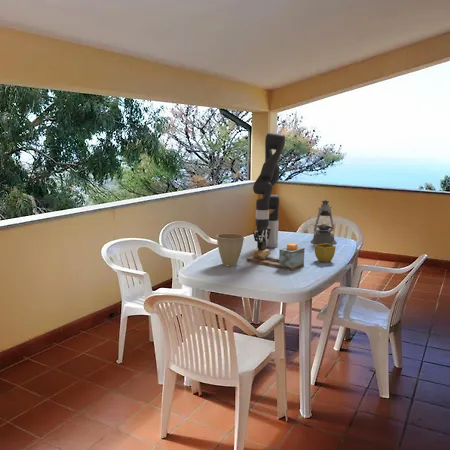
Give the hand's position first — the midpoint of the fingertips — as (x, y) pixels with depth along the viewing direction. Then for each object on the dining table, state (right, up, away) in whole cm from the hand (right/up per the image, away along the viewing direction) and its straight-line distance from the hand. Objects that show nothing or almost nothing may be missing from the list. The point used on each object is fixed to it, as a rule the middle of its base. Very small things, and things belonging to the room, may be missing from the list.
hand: (261, 247), depth 259 cm
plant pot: (-18, -9, -7) cm, 21 cm away
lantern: (+44, +1, +51) cm, 67 cm away
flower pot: (+35, -8, +1) cm, 36 cm away
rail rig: (+7, -8, -4) cm, 12 cm away
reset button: (+15, -1, -13) cm, 20 cm away
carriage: (0, -6, +1) cm, 6 cm away
